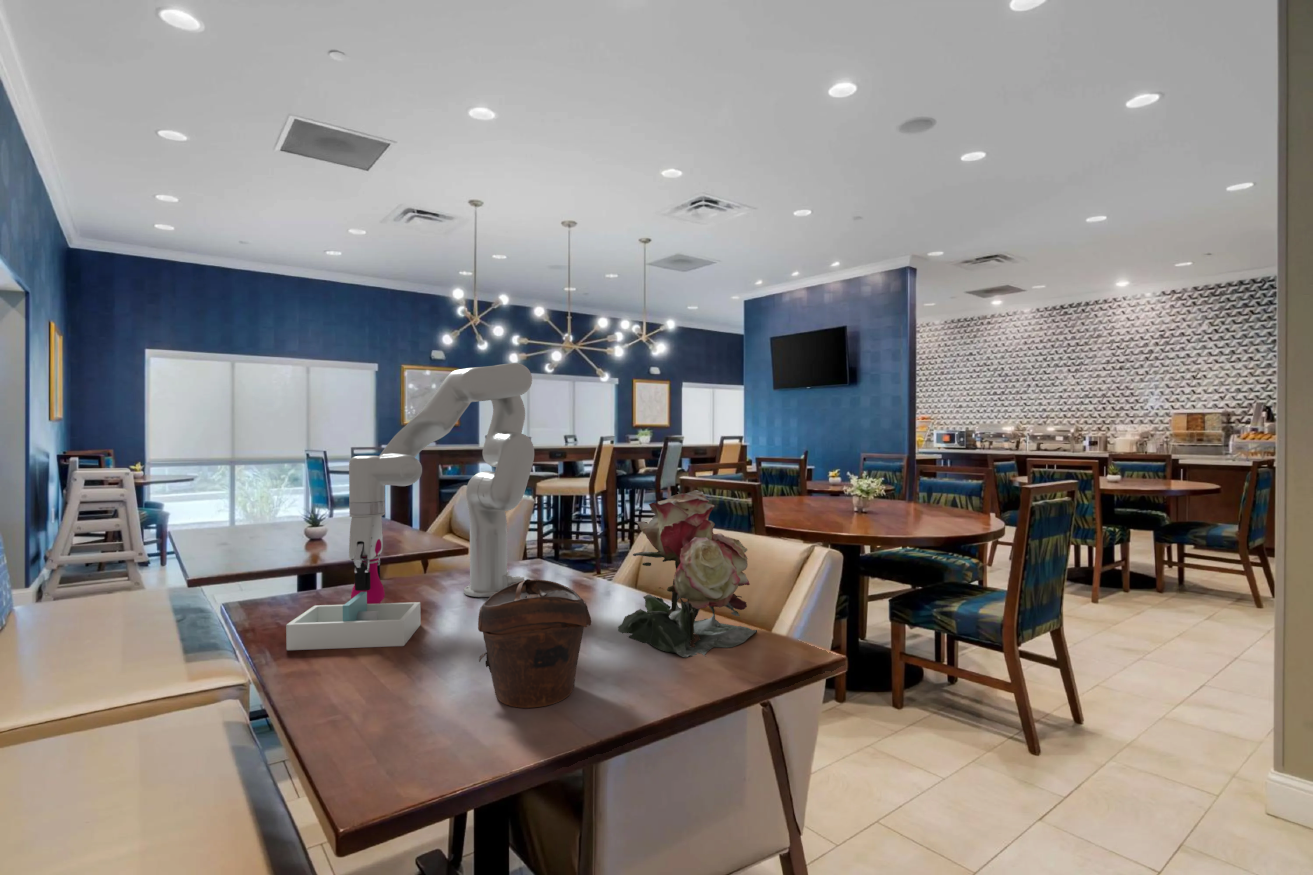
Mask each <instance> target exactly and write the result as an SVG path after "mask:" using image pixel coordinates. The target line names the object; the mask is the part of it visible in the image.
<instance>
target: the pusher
mask: <svg viewBox="0 0 1313 875" xmlns="http://www.w3.org/2000/svg"><path fill="white" fill-rule="evenodd" d="M342 605H343V621H370V620H378V611H367V592H360V593H359V594H357V595H356V596H355V597H354V598H352V599H351V598H350V600H348V601H346V602H345V603H344V604H342Z"/></svg>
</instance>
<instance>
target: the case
mask: <svg viewBox="0 0 1313 875" xmlns="http://www.w3.org/2000/svg"><path fill="white" fill-rule="evenodd" d="M478 611H479V612H478V619H477V620H478V621H477V622H478V623H477V629H478V631H479V632H480V633H482V635H483V640H484V645H485V650H486V651H485V652H484V653H482V654H481V655H480V656H479V658H478V662H479V663H480V662H481V660H482V659H483V658H484V657H485V656H486V660H485V666H486V668H488V669H489V673H490V675H491V681H492V684H493V690H494V695H495V697H496V698H497V700H498V701H500V703H502V704H503V705H506V706H508V707H514V708H519V709H520V708H523V709H533V708H541V707H546V706H551V705H553V704H556V703H559V702H561V701H563V700H565V699H566V698H567V697H569V696H570V695H571V694H572V692H573V689H574V688H575V682H576V681H575V680H576V674H577V666H578V662H579V655H580V651H581V650H580V649H581V645H582V638H583V633H584V628H587V627H588V626H591V625H592V617H591V615H590V612H589V607H588V604H587V603H586V601H585V600H584V599H583V598H582V597H581V596H580V595H579V594H578V593H577V591H574V590H573V589H572V588H570V587H568V586H565V585H563V584H561V583H558V582H556V581H552V580H546V579H539V578H536V579H529V578H528V579H527V578H526V579H524V581H521V582H518V583H515V584H512V585H510V586H507V587H505V588H503V589H501V590H500V591H498V592H497V593H495V594H493V595H492V596H491V597H488V599H487V600H485V601H484V603H482V605H481V606H480V609H479V610H478Z"/></svg>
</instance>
